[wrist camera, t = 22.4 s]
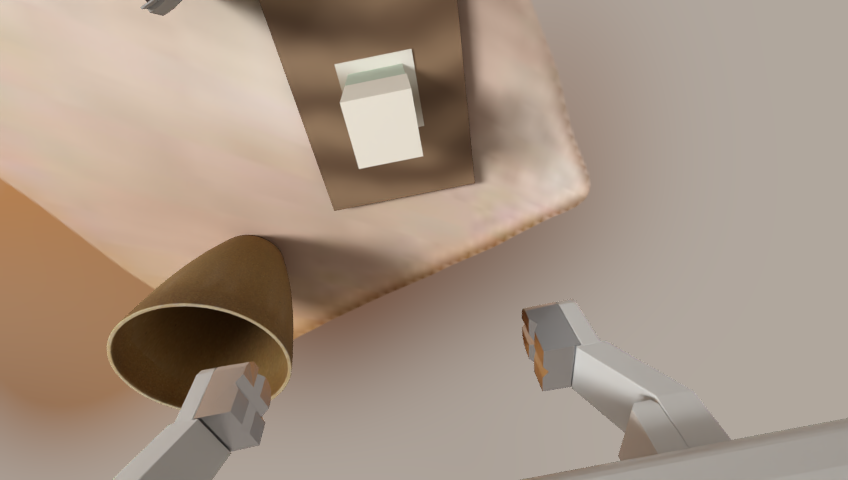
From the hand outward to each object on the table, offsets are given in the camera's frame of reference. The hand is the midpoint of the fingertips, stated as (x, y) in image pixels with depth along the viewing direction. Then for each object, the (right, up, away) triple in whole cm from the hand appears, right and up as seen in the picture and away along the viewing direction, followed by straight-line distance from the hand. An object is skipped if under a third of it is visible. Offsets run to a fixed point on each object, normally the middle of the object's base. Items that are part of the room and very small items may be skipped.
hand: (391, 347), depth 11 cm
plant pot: (-20, +1, +35) cm, 40 cm away
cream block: (-2, +14, +20) cm, 24 cm away
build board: (-3, +18, +25) cm, 31 cm away
